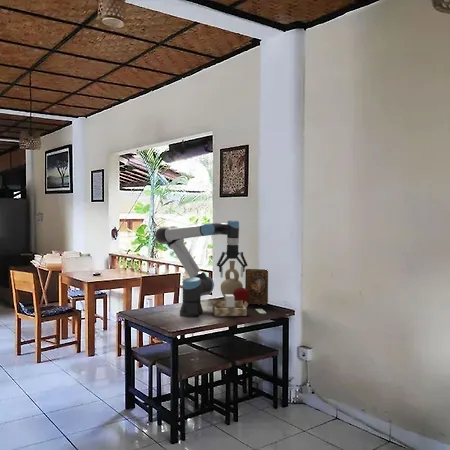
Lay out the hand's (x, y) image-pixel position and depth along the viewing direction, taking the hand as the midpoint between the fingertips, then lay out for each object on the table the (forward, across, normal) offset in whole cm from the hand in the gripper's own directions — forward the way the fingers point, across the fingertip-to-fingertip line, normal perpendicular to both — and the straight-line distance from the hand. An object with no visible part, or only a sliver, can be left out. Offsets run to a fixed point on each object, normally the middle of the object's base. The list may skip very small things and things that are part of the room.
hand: (231, 277), depth 315 cm
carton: (+24, -1, -2) cm, 25 cm away
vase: (+25, +13, +45) cm, 53 cm away
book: (+25, +28, +30) cm, 48 cm away
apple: (+25, +16, +27) cm, 40 cm away
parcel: (+24, -1, -2) cm, 24 cm away
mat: (+24, +18, +4) cm, 31 cm away
